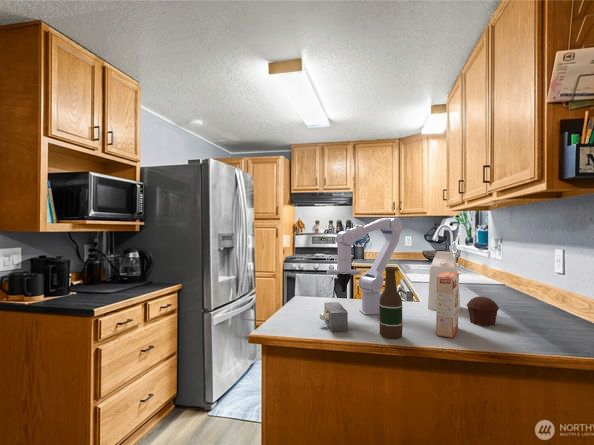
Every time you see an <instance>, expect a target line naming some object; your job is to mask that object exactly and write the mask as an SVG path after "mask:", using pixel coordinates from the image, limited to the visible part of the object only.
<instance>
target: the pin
mask: <svg viewBox="0 0 594 445" xmlns="http://www.w3.org/2000/svg"><path fill="white" fill-rule="evenodd" d="M319 319H320V320H322V321H325V320H329V313H324V312H323V313H320V314H319Z"/></svg>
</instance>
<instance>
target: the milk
mask: <svg viewBox="0 0 594 445" xmlns="http://www.w3.org/2000/svg"><path fill="white" fill-rule="evenodd" d="M443 272H453V273H459V266H458V264H457V261H456V259H455V257H454V255H453V253H452V251H438V250H437V251H436V252H435V255H434V257H433V259H432V262H431V265H430V268H429V278H428V279H429V281H428V283H429V284H428V297H427V298H428V300H427V301H428V302H427V309H428V310H433V311H434V310H435V311H436V286H437V276H439V275H440V274H441V273H443ZM460 298H461V295H460V288H459V289H458V311H459V310H460V308H461V299H460Z"/></svg>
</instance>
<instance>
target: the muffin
mask: <svg viewBox="0 0 594 445" xmlns="http://www.w3.org/2000/svg"><path fill="white" fill-rule="evenodd" d="M466 307H467V312H468V316H469V322H470V323H471V324H473V325H475V326H480V327H495V326H496V321H497V316H498V311H499V309H500V306H498V304H497V303H496V302H495V301H494V300H493V299H491V298H489V297H486V296H475V297H473V298H471V299H469V301H468V302H467V304H466Z"/></svg>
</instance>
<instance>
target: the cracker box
mask: <svg viewBox="0 0 594 445" xmlns="http://www.w3.org/2000/svg"><path fill="white" fill-rule="evenodd" d="M459 275H460V273H459V272H458V273H453V272H443V273H441V274H440V275H439V276H437V286H436V310H435V311H436V312H435V313H436V315H435V317H436V321H435V324H436V325H435V327H436V328H435V333H436V336H440V337H445V338H450V339H454V337H455V335H456V333H457V331H458V328H459V310H458V289H459V290H460V281H459V280H460V276H459Z"/></svg>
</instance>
